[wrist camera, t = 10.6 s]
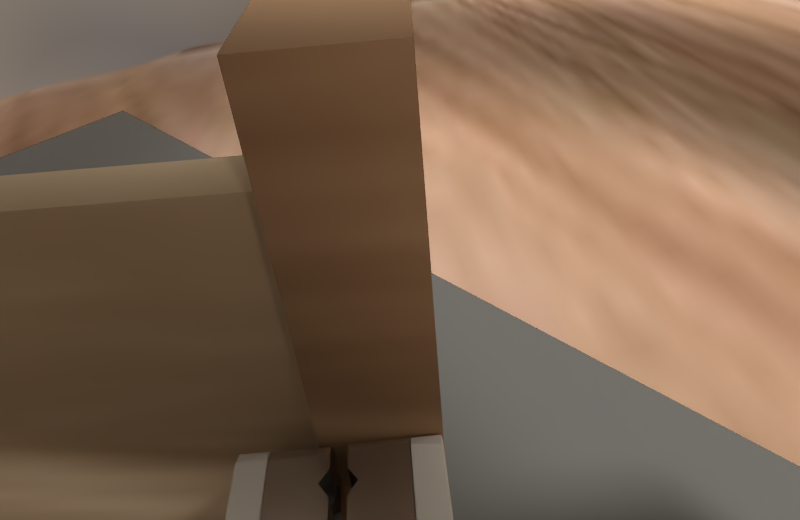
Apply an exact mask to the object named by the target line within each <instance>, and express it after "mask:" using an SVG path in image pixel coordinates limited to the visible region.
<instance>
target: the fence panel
mask: <svg viewBox="0 0 800 520" xmlns="http://www.w3.org/2000/svg"><path fill="white" fill-rule="evenodd" d="M217 57H218V61H219V65H220V69H221V72H222V76H223V80H224V84H225V88H226V92H227V95H228V99H229V103H230V107H231V111H232V115H233V118H234V122H235V126H236V130H237V134H238V138H239V141H240V145H241V149H242V153H243V155H242V156H230V157H218V158H207V159H195V160H183V161H171V162H159V163H147V164H135V165H123V166H111V167H99V168H87V169H75V170H63V171H51V172H39V173H28V174H16V175H4V176H0V520H225V516H226V511H227V505H228V500H229V494H230V489H231V483H232V478H233V472H234V466H235V463H236V461H237V459H238V457H239V455H241V454H251V453H261V452H274V451H287V450H299V449H312V448H325V447H334V450H335V454H336V457H337V474H338V475H340V476H341V478H342V483H343V488H344V495H345V508H346V520H347V494H348V493H349V492H350V490H351V489H352V486H351V482H350V477H349V472H348V448H349V444H353V443H362V442H371V441H379V440H388V439H396V438H405V437H410V439H411V438H413V437H422V436H431V435H440V434H441V436H442V439H443V443H444V436H443V422H442V409H441V396H440V383H439V369H438V356H437V343H436V329H435V316H434V303H433V290H432V276H431V263H430V250H429V236H428V223H427V210H426V197H425V183H424V170H423V157H422V143H421V130H420V117H419V104H418V90H417V77H416V64H415V51H414V37H413V24H412V11H411V0H250V2H249V4H248V5H247V7H246V8H245V10H244V12H243V14H242V15H241V17H240V18H239V20H238V21H237V23H236V25H235V26H234V28H233V30H232V31H231V33H230V34H229V36H228V38H227V39H226V41H225V43H224V44H223V46H222V47H221V49H220V51H219V52H218V54H217ZM410 443H411V441H410ZM444 451H445V449H444Z"/></svg>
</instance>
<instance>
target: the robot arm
mask: <svg viewBox="0 0 800 520" xmlns="http://www.w3.org/2000/svg"><path fill="white" fill-rule="evenodd" d="M410 441H411V443H410ZM348 472H349V477H350V482H351V486H352V489H351V490H350V492H349V493H348V494H347V520H453V512H452V504H451V497H450V489H449V482H448V474H447V466H446V459H445V451H444V443H443V439H442V436H441V434H440V435H431V436H422V437H413V438H411V439H410V437H405V438H396V439H388V440H379V441H371V442H362V443H353V444H349V448H348ZM225 520H346V508H345V495H344V488H343V483H342V478H341V476H340V475H338V474H337V457H336V454H335V450H334V447H325V448H312V449H299V450H287V451H274V452H261V453H251V454H241V455H239V457H238V459H237V461H236V463H235V466H234V472H233V478H232V483H231V489H230V494H229V500H228V505H227V511H226V516H225Z"/></svg>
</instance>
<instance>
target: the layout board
mask: <svg viewBox="0 0 800 520" xmlns="http://www.w3.org/2000/svg"><path fill="white" fill-rule="evenodd" d="M207 158H212V157H210V156H208V155H206V154H204V153H202V152H200V151H199V150H197V149H195V148H193V147H191V146H189V145H187V144H185V143H183V142H181V141H180V140H178V139H176V138H174V137H172V136H170V135H168V134H166V133H164V132H162V131H161V130H159V129H157V128H155V127H153V126H151V125H149V124H147V123H145V122H143V121H142V120H140V119H138V118H136V117H134V116H132V115H130V114H128V113H126V112H124V111H121V112H119V113H116V114H113V115H111V116H108V117H106V118H103V119H100V120H98V121H95V122H92V123H90V124H87V125H85V126H82V127H79V128H77V129H74V130H72V131H69V132H66V133H64V134H61V135H59V136H56V137H53V138H51V139H48V140H46V141H43V142H40V143H38V144H35V145H33V146H30V147H27V148H25V149H22V150H20V151H17V152H14V153H12V154H9V155H7V156H4V157H1V158H0V176H4V175H16V174H28V173H39V172H51V171H63V170H75V169H87V168H99V167H111V166H123V165H135V164H147V163H159V162H171V161H183V160H195V159H207ZM431 276H432V290H433V303H434V316H435V329H436V343H437V356H438V369H439V383H440V396H441V409H442V422H443V436H444V449H445V459H446V466H447V474H448V482H449V489H450V497H451V504H452V512H453V520H800V466H798V465H796V464H794V463H792V462H790V461H788V460H786V459H784V458H782V457H780V456H779V455H777V454H775V453H773V452H771V451H769V450H767V449H765V448H763V447H761V446H760V445H758V444H756V443H754V442H752V441H750V440H748V439H746V438H744V437H742V436H741V435H739V434H737V433H735V432H733V431H731V430H729V429H727V428H725V427H723V426H722V425H720V424H718V423H716V422H714V421H712V420H710V419H708V418H706V417H704V416H703V415H701V414H699V413H697V412H695V411H693V410H691V409H689V408H687V407H685V406H684V405H682V404H680V403H678V402H676V401H674V400H672V399H670V398H668V397H666V396H664V395H663V394H661V393H659V392H657V391H655V390H653V389H651V388H649V387H647V386H645V385H644V384H642V383H640V382H638V381H636V380H634V379H632V378H630V377H628V376H626V375H625V374H623V373H621V372H619V371H617V370H615V369H613V368H611V367H609V366H607V365H606V364H604V363H602V362H600V361H598V360H596V359H594V358H592V357H590V356H588V355H587V354H585V353H583V352H581V351H579V350H577V349H575V348H573V347H571V346H569V345H568V344H566V343H564V342H562V341H560V340H558V339H556V338H554V337H552V336H550V335H548V334H547V333H545V332H543V331H541V330H539V329H537V328H535V327H533V326H531V325H529V324H528V323H526V322H524V321H522V320H520V319H518V318H516V317H514V316H512V315H510V314H509V313H507V312H505V311H503V310H501V309H499V308H497V307H495V306H493V305H491V304H490V303H488V302H486V301H484V300H482V299H480V298H478V297H476V296H474V295H472V294H471V293H469V292H467V291H465V290H463V289H461V288H459V287H457V286H455V285H453V284H451V283H450V282H448V281H446V280H444V279H442V278H440V277H438V276H436V275H434V274H432V273H431Z"/></svg>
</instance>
